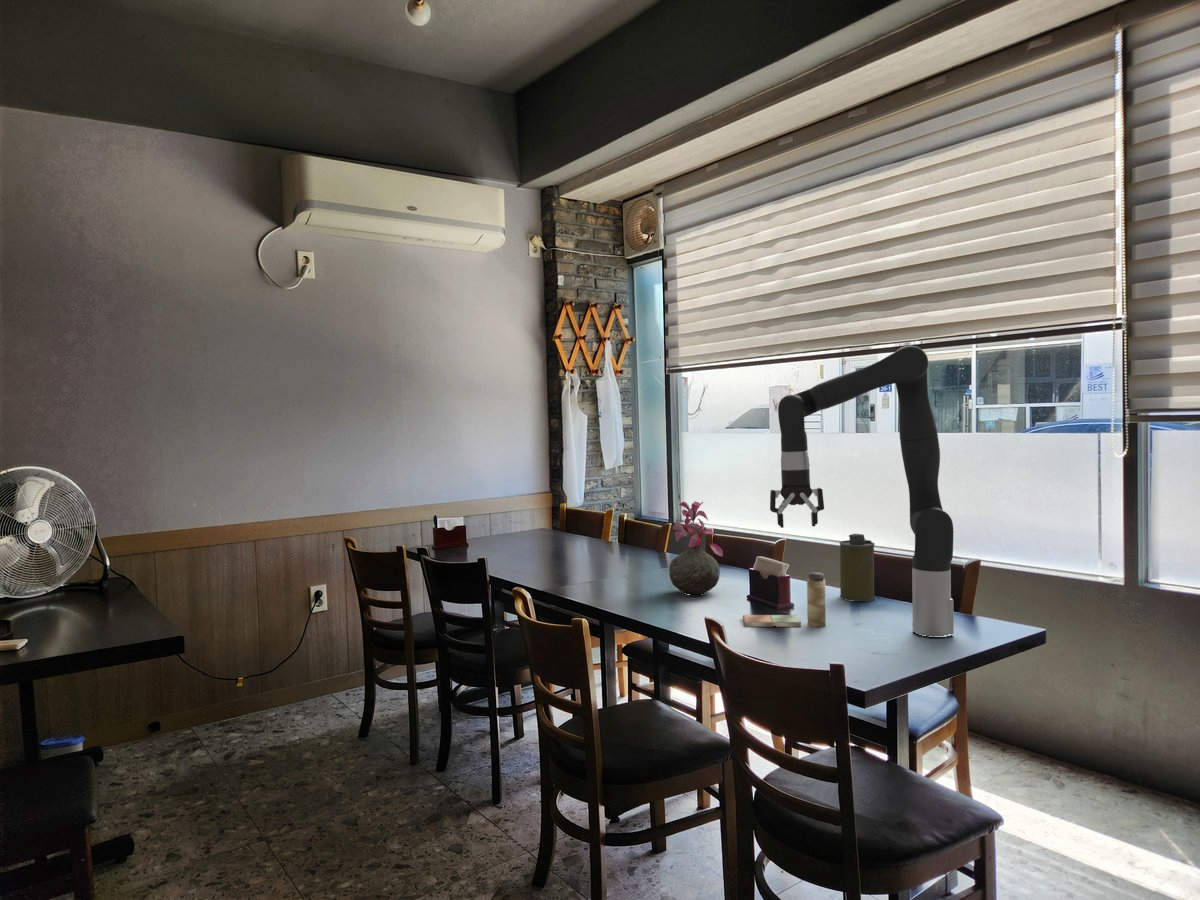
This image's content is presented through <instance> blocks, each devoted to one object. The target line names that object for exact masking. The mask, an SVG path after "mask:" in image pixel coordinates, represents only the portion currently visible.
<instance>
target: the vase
mask: <svg viewBox="0 0 1200 900" xmlns="http://www.w3.org/2000/svg"><path fill="white" fill-rule="evenodd" d="M703 503H704V502H703V501H702V502H699V501H693V503H691V507H690V505H689V504H688V503H687V502H686V501H682V502H680V503H679V504H678V506H680V507H681V506H682V507H684V508H685V509H682V511H681V513H682V516H683V517H685V518H684V525H683V524H682V523H681V522H680V521H676V522H675V523H674V526H673V527H672V530H674V537H675V540H676V542H679V540H680V539H681V538H683V537H687V538H688V537H689V538H690V540H689V543H688V546H687V547H688V548H689V549H688V550H686V551H684V552H682V553H680V554H678V555H676V557H674V558H673V559H672V560H671V562H670V563H669V568H668V571H669V572H668V574H669V579H670V582H671V583H672V585H673V586H674V587H675V588H676V589H677V590H679V591H681V592H683V593H686V594H690V595H701V594H704V593H705V594H706V593H707V592H709V591H711V590H712V589H713V588H715V587H716V586H717V584H718V582H719V580H720V573H721V572H720V564H719V562H718V561H717V560H716V559H715V558H714V557H713V556H712V555H710V554H709V553H707V552H706V551H704V550H703V548H702V541H703V536H702V535H708V534H709V535H712V536H714V537H716V534H715V533H714V532H713V530H712V529H706V530H704V529H705V523H704V521H702V520H701V519H700V518H698V516H700V517H702V518H705V519H706V520H707V521H709V519H708V516H707V514H706V512H705V511H704V510H699V508H700V507H701V506H702V505H703ZM696 519H697V520H698V522H699V523H700V524H698V523H697V522H696V523H695V520H696ZM691 521H692V522H691ZM696 529H699V532H700V533H698V531H696ZM675 531H676V532H675ZM708 544H709V547H710V549H711V550H712V551H713V553H714V554H715V555H717V556H719V557H724V551H723V549H722V548H721V547H720V546H719V545H718V544H716V543H714V542H708Z"/></svg>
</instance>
